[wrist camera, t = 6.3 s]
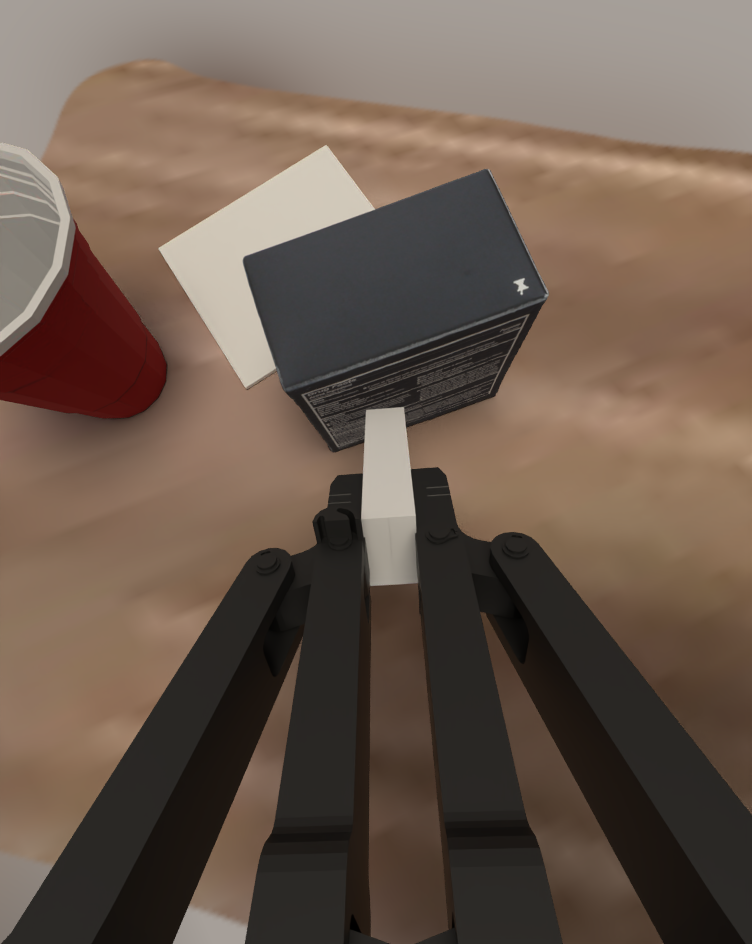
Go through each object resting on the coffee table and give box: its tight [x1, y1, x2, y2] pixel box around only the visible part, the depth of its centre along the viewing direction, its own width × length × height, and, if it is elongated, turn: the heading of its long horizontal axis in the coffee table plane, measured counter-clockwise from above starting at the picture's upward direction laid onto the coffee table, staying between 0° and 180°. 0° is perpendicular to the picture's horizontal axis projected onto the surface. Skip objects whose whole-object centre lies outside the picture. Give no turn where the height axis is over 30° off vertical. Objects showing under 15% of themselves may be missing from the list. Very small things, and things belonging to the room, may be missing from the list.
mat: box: [158, 145, 375, 389], centre depth 28 cm, size 12×13×1 cm
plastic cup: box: [0, 142, 167, 418], centre depth 22 cm, size 11×11×12 cm
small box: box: [243, 169, 549, 452], centre depth 22 cm, size 11×6×10 cm, turn 109°
